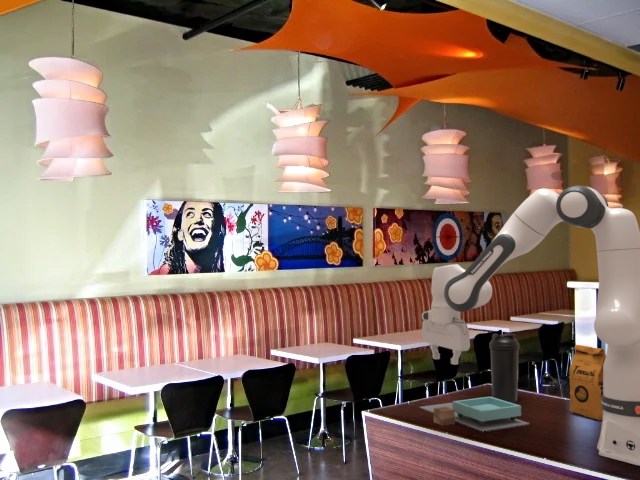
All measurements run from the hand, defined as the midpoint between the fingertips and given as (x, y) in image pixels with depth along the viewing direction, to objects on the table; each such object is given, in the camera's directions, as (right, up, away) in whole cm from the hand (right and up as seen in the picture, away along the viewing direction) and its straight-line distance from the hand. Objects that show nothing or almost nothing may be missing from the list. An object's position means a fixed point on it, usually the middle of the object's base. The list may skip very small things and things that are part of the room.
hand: (445, 361), depth 203 cm
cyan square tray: (+13, -19, +2) cm, 23 cm away
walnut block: (0, -19, -1) cm, 19 cm away
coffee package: (+48, -19, +7) cm, 52 cm away
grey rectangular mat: (+10, -19, +8) cm, 23 cm away
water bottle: (+27, -19, +31) cm, 45 cm away
